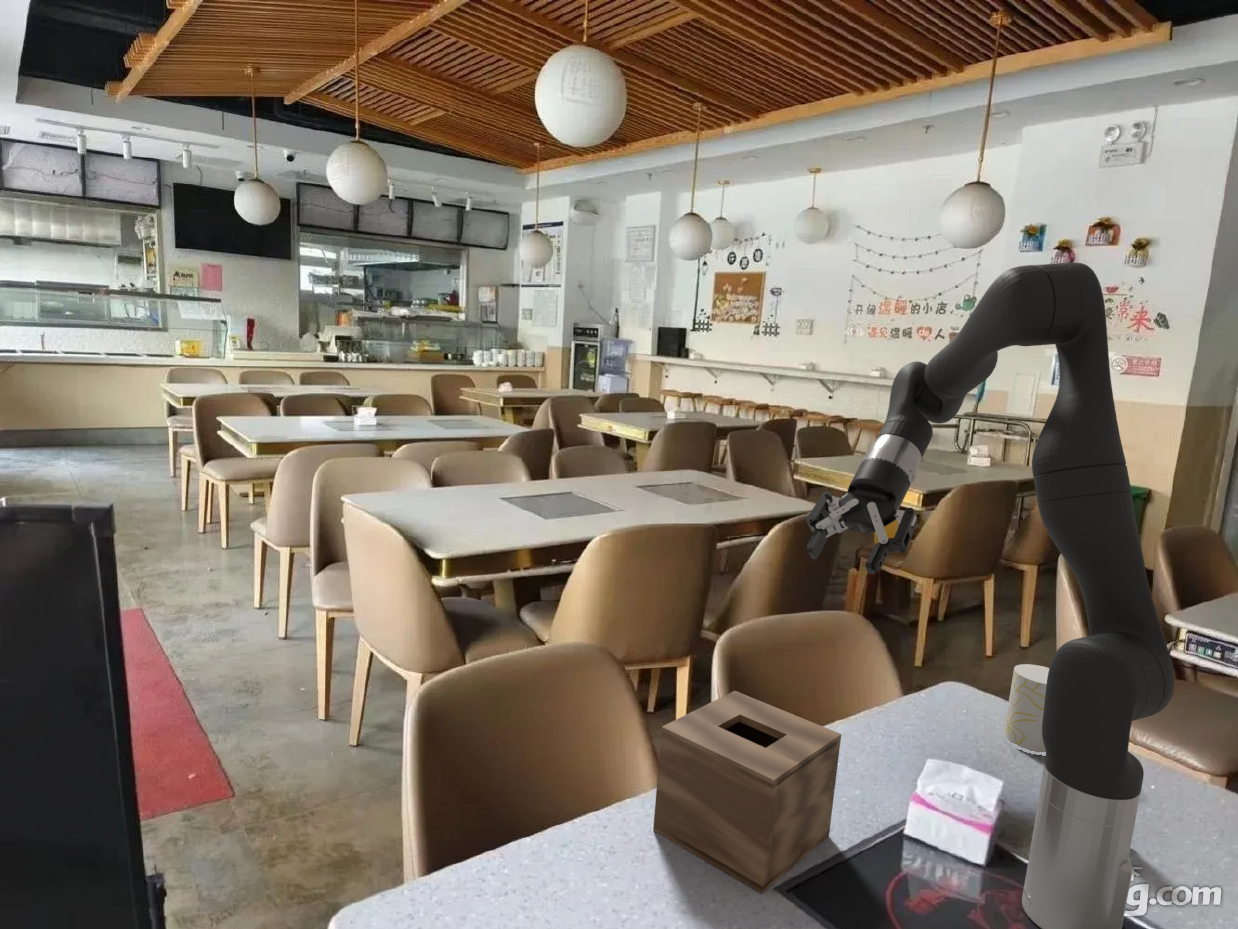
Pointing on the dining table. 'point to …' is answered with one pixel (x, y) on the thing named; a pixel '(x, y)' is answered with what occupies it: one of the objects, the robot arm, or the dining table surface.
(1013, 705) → the cup
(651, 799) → the dining table surface
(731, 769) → the box
